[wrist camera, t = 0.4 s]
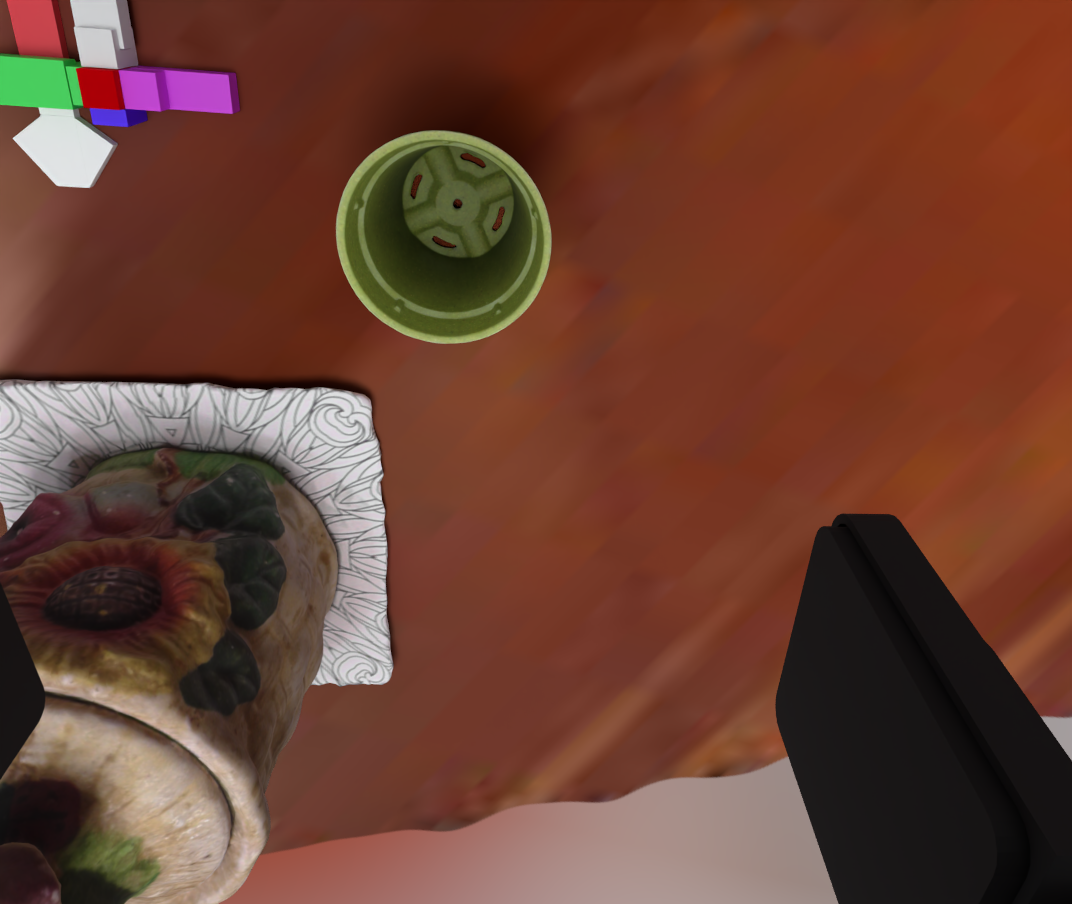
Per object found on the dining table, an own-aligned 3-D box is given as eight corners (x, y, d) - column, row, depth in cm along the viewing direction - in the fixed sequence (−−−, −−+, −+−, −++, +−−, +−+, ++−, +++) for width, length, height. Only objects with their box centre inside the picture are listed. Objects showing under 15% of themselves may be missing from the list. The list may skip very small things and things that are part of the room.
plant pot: (396, 75, 39) (365, 94, 31) (573, 144, 41) (583, 179, 33) (352, 251, 43) (314, 305, 36) (512, 307, 45) (509, 370, 38)
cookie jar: (400, 673, 60) (291, 1258, 32) (73, 668, 59) (-327, 1259, 32) (378, 377, 47) (166, 915, 20) (-38, 367, 47) (-856, 906, 19)
